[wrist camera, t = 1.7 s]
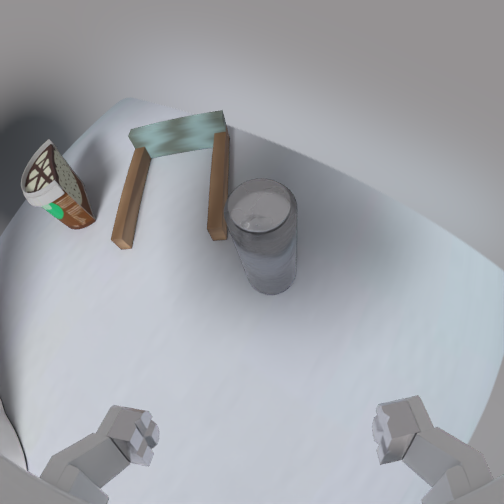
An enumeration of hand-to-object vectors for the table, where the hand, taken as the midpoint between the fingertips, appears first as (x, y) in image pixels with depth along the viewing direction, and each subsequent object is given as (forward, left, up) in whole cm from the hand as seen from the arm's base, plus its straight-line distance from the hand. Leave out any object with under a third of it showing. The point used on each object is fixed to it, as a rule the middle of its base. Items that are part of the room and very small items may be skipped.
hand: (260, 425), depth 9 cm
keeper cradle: (-11, +24, -16) cm, 31 cm away
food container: (-28, +23, -16) cm, 40 cm away
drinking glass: (0, +12, -16) cm, 20 cm away
